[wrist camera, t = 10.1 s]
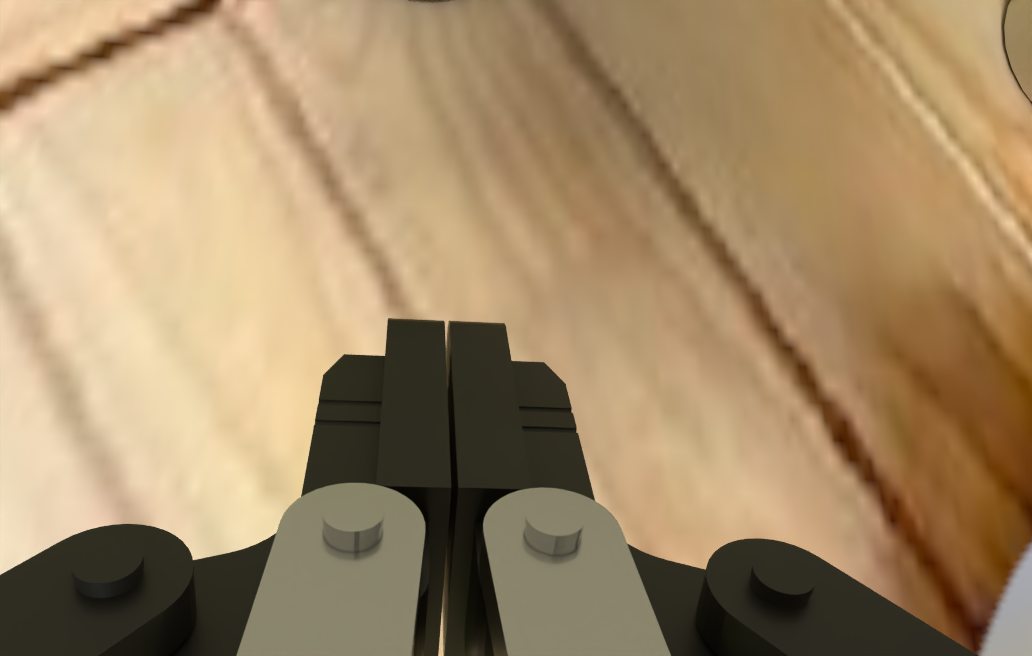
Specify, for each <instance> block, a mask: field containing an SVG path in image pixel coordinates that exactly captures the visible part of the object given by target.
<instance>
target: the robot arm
mask: <svg viewBox="0 0 1032 656" xmlns="http://www.w3.org/2000/svg"><path fill="white" fill-rule="evenodd" d="M1004 30H1005V46H1006V50H1007V54H1008V57H1009V61H1010V64H1011V68H1012V70H1013V72H1014V74H1015V76H1016V78H1017V80H1018V82H1019V84H1020V86H1021V88H1022V90H1023V91H1024V92H1025V94H1026V95H1027V96H1028V98H1029V99H1030V100H1031V102H1032V0H1011V1H1010V3H1009V5H1008V8H1007V14H1006V19H1005V25H1004ZM571 409H572V408H571V404H570V400H569V396H568V392H567V388H566V384H565V383H564V382H563V381H562V380H561V379H560V378H559V377H558V376H557V375H556V374H555V373H554V372H553V371H552V370H551V369H550V368H549V367H548V366H547V365H546V364H545V363H544V362H521V361H511V356H510V349H509V343H508V337H507V331H506V326H505V324H504V323H483V322H461V321H449V323H448V330H447V342H446V345H445V323H444V321H436V320H414V319H392V318H388V326H387V339H386V353H385V356H370V355H346V354H344V355H343V356H342V357H341V358H340V359H339V360H338V361H337V362H336V363H335V364H334V365H333V366H332V367H331V368H330V369H329V370H328V371H327V372H326V373H325V374H324V375H323V380H322V385H321V391H320V396H319V404H318V407H317V413H316V418H315V425H314V429H313V435H312V440H311V446H310V451H309V457H308V462H307V468H306V473H305V479H304V484H303V490H302V495H301V498H299V499H297V500H296V501H295V502H294V503H293V504H292V505H291V506H289V508H288V509H287V510H286V512H285V513H284V515H283V517H282V519H281V521H280V524H279V527H278V530H277V533H276V534H274V535H273V536H271V537H270V538H268V539H266V540H264V541H262V542H260V543H258V544H256V545H253V546H251V547H248V548H245V549H242V550H238V551H235V552H231V553H226V554H222V555H217V556H212V557H207V558H202V559H198V560H193V559H192V555H191V553H190V551H189V549H188V547H187V546H186V545H185V544H184V542H183V541H181V540H180V539H179V538H178V537H176V536H175V535H173V534H171V533H169V532H167V531H165V530H162V529H159V528H156V527H152V526H146V525H138V524H119V525H109V526H103V527H98V528H94V529H90V530H86V531H84V532H81V533H78V534H75V535H73V536H71V537H69V538H67V539H64V540H62V541H60V542H59V543H57V544H55V545H53V546H51V547H50V548H48V549H46V550H44V551H42V552H41V553H39V554H37V555H35V556H33V557H32V558H30V559H28V560H26V561H25V562H23V563H21V564H19V565H17V566H16V567H14V568H12V569H10V570H8V571H7V572H5V573H3V574H1V575H0V656H438V651H439V638H440V625H441V613H442V609H443V652H444V656H978V655H976V654H975V653H973V652H971V651H970V650H968V649H966V648H965V647H963V646H962V645H960V644H958V643H957V642H955V641H954V640H952V639H950V638H949V637H947V636H945V635H944V634H942V633H941V632H939V631H937V630H936V629H934V628H933V627H931V626H929V625H928V624H926V623H924V622H923V621H921V620H920V619H918V618H916V617H915V616H913V615H912V614H910V613H908V612H907V611H905V610H903V609H902V608H900V607H899V606H897V605H895V604H894V603H892V602H891V601H889V600H887V599H886V598H884V597H882V596H881V595H879V594H878V593H876V592H874V591H873V590H871V589H870V588H868V587H866V586H865V585H863V584H861V583H860V582H858V581H857V580H855V579H853V578H852V577H850V576H849V575H847V574H845V573H844V572H842V571H840V570H839V569H837V568H836V567H834V566H832V565H831V564H829V563H828V562H826V561H824V560H823V559H821V558H819V557H818V556H816V555H814V554H812V553H810V552H809V551H806V550H804V549H802V548H799V547H797V546H794V545H791V544H788V543H785V542H780V541H776V540H770V539H743V540H737V541H734V542H731V543H728V544H726V545H724V546H722V547H720V548H719V549H718V550H717V551H715V552H714V553H713V555H712V556H711V558H710V559H709V562H708V564H707V567H706V570H704V569H700V568H696V567H692V566H688V565H684V564H680V563H676V562H672V561H668V560H665V559H661V558H658V557H655V556H652V555H649V554H647V553H644V552H642V551H640V550H638V549H636V548H634V547H632V546H631V545H629V544H627V542H626V540H625V537H624V535H623V532H622V529H621V527H620V525H619V524H618V522H617V520H616V519H615V518H614V516H613V515H612V514H611V513H610V512H609V511H608V510H607V509H606V508H604V507H603V506H602V505H600V504H599V503H597V502H596V501H595V499H594V495H593V491H592V487H591V483H590V479H589V475H588V471H587V467H586V463H585V459H584V455H583V451H582V447H581V444H580V440H579V436H578V433H576V429H577V428H576V424H575V420H574V416H573V413H571Z"/></svg>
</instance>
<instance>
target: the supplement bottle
mask: <svg viewBox="0 0 1032 656" xmlns="http://www.w3.org/2000/svg"><path fill="white" fill-rule="evenodd" d="M409 1H415V2H424V3H439V2H448V1H453V0H409Z"/></svg>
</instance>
